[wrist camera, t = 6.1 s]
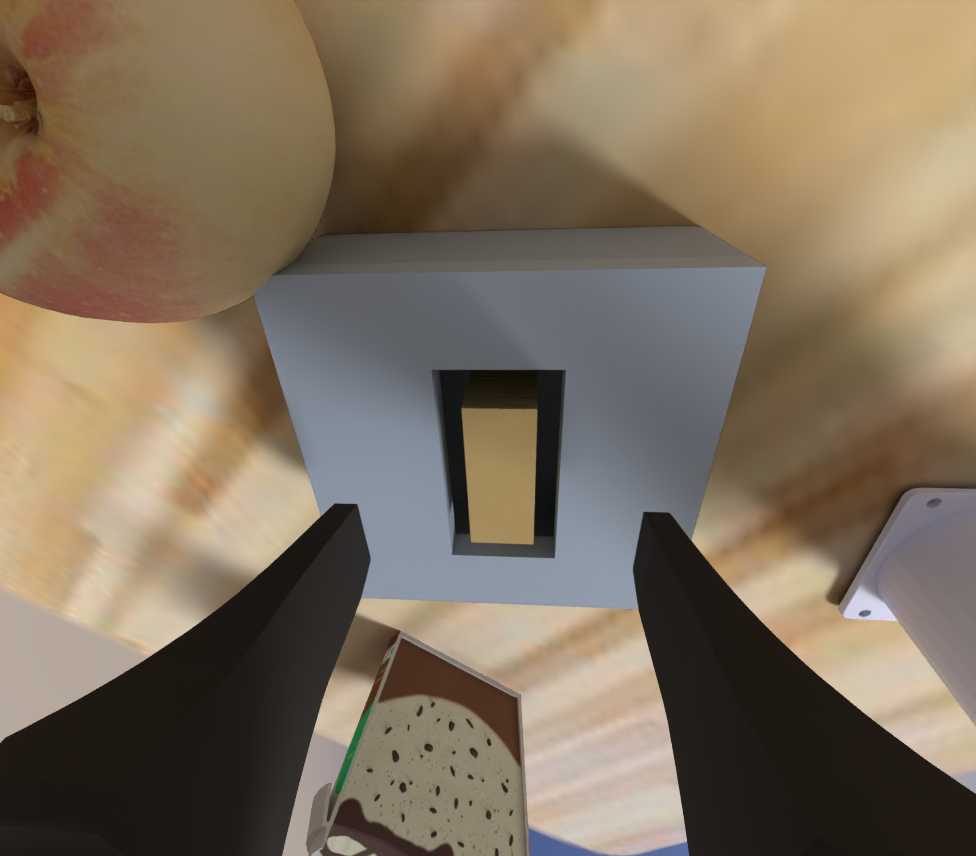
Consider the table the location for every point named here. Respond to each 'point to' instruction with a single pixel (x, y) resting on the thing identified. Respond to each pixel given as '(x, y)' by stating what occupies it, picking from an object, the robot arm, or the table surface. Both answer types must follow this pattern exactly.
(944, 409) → the table surface
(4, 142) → the apple
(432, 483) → the coin box
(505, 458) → the block
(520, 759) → the food container
